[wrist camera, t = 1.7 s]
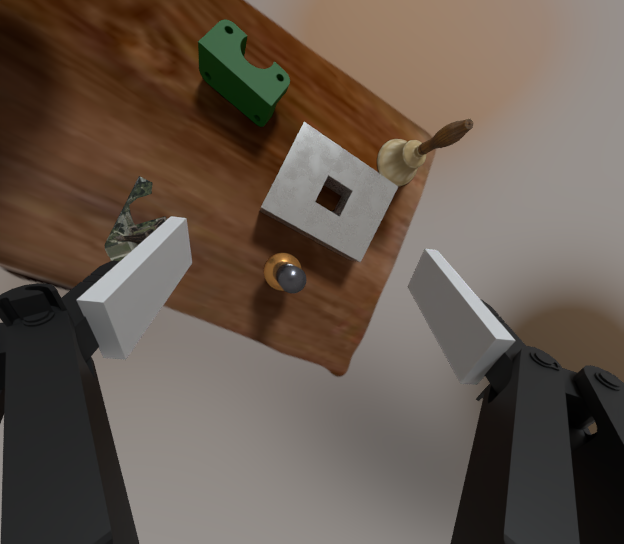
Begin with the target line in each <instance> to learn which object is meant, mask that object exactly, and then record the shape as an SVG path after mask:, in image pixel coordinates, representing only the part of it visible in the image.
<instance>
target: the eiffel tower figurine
mask: <svg viewBox="0 0 624 544" xmlns="http://www.w3.org/2000/svg"><path fill="white" fill-rule="evenodd" d="M151 190H152V182H150V181H148V180H146V179H144V178H142V177H140V176H139V177H138V179H137V181H136V183H135V185H134V187H133V189H132V191H131V193H130V195H129V197H128V199H127V201H126V203H125V205H124V207H123V209H122V211H121V213H120V215H119V217H118V219H117V221H116V223H115V225H114V227H113V229H112V231H111V233H110V235H109V237H108V239H107V241H106V243H105V250H106V252H107V254H108V256H109V257H110V259H111V261H113V260H116V261H121V260H122V259H123V258H124V257H126V256H127V255H128V254H129V253H130V252H131V251H132V250H133V249H135V248H136V247H137V246H138V245H139V244H140V243H141V242H143V241H144V240H145V239H146V238H147V237H148V236H149V235H150V234H152V233H153V232H154V231H155V230H156V229H157V228H158V227H159V226H161V225H162V224H163V223H164V222H165V221H166V220H167V219H166V216H165V217H161V218H158V219H155V220H151V221H148V222H144V223H141V224H137V225H135V224H134V223H133V220H132V217H131V214H130V209H129V205H130V204H131V203H132V202H133V201H134V200H136V199H137V198H139V197H143V196H147V195H149V194H152V191H151Z"/></svg>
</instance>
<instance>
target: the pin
mask: <svg viewBox="0 0 624 544" xmlns="http://www.w3.org/2000/svg"><path fill="white" fill-rule="evenodd" d="M264 277H265V279H266V281H267V283H268V284H269V285H270V286H271V287H272V288H274V289H276V290H281V291H286V292H288V293H297V292H299V291H301V290H302V289H303V288H304V286H305V284H306V275H305V273H304V271H303V270H302V268H301V265H300V263H299V261H298V260H297V259H296V258H295V257H294V256H292V255H290V254H287V253H276V254H274V255H272V256H271V257H270V258H269V259H268V260H267V261H266V263H265V265H264Z"/></svg>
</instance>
